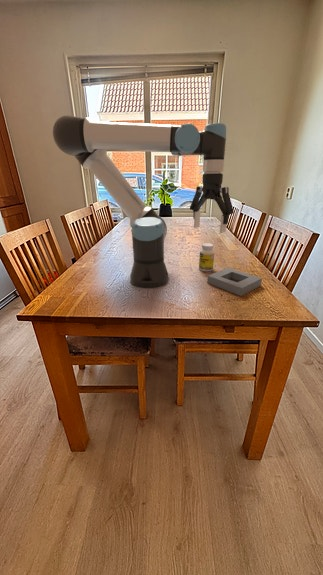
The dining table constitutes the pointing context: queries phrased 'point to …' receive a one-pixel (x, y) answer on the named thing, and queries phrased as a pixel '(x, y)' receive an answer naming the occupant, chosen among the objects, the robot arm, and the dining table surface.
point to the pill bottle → (206, 257)
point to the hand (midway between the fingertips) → (209, 229)
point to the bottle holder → (240, 288)
